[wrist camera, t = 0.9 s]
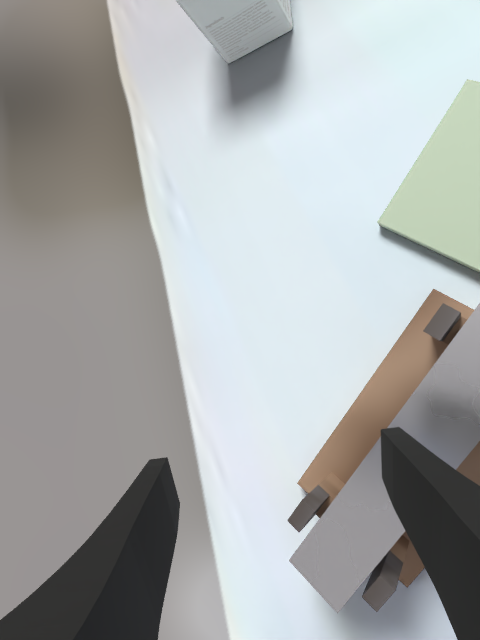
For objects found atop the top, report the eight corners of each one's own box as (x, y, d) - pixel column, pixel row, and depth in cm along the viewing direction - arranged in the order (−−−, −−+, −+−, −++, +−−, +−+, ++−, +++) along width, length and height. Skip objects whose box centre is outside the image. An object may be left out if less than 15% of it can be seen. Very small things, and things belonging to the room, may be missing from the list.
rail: (485, 298, 18) (489, 290, 15) (554, 333, 16) (570, 330, 14) (309, 535, 22) (288, 560, 19) (353, 579, 20) (337, 613, 18)
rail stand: (588, 371, 18) (636, 381, 13) (409, 578, 22) (392, 649, 17) (434, 290, 22) (425, 274, 17) (302, 478, 26) (262, 511, 20)
